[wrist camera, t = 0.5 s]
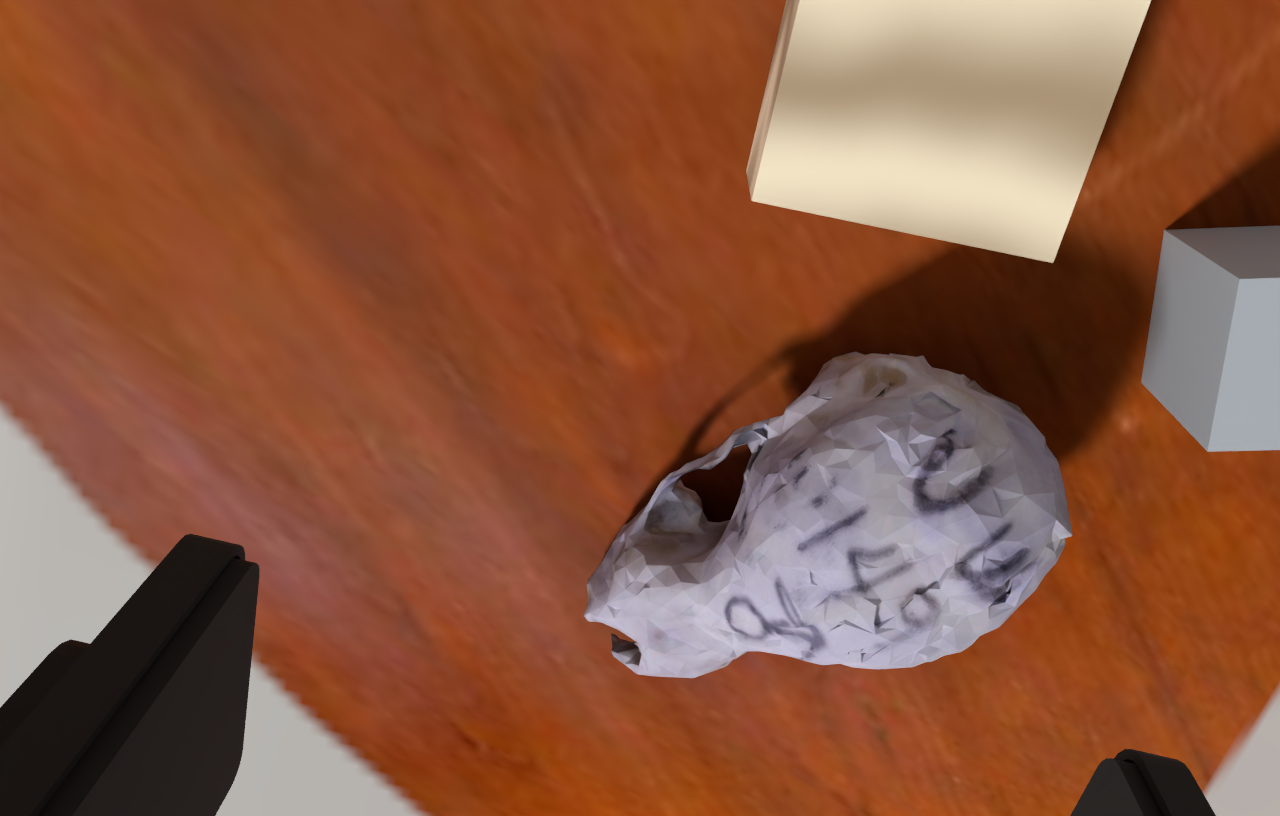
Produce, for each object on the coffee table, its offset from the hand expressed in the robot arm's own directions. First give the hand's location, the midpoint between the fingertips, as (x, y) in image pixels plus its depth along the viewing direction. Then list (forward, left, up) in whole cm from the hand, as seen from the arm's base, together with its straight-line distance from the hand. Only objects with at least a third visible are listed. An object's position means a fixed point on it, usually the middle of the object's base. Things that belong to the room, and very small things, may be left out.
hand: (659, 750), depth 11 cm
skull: (+12, +7, -30) cm, 33 cm away
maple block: (-6, +7, -30) cm, 31 cm away
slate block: (0, +21, -30) cm, 36 cm away
